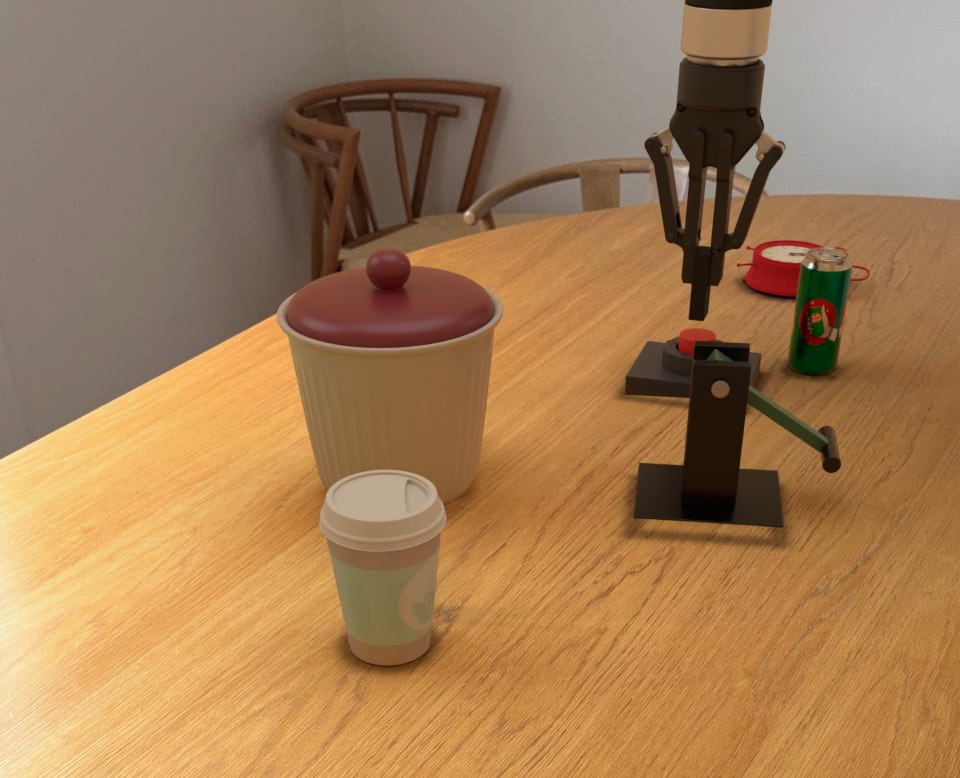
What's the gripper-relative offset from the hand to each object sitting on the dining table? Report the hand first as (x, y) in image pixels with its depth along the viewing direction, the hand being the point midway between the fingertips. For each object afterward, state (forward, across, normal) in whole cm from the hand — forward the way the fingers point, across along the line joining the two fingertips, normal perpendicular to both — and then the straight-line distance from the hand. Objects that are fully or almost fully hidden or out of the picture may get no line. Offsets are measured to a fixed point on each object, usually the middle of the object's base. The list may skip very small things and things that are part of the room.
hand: (698, 315), depth 124 cm
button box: (+7, 0, 0) cm, 7 cm away
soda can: (+7, -11, -8) cm, 16 cm away
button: (+4, 0, 0) cm, 4 cm away
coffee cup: (+7, +12, +53) cm, 55 cm away
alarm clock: (+7, -7, -34) cm, 36 cm away
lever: (-1, -10, +25) cm, 27 cm away
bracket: (+7, -6, +26) cm, 28 cm away
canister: (+8, +20, +31) cm, 38 cm away
